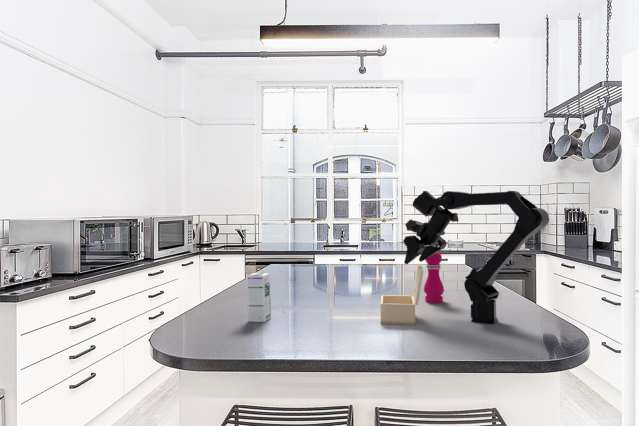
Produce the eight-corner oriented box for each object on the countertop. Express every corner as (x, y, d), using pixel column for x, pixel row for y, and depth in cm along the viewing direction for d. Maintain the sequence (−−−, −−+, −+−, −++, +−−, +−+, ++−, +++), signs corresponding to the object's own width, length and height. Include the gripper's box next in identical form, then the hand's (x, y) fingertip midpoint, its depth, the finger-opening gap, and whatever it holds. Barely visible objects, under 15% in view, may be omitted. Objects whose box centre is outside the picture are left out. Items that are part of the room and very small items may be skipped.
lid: (412, 295, 150) (415, 296, 150) (415, 304, 135) (418, 305, 135) (418, 264, 149) (420, 265, 149) (420, 270, 135) (423, 270, 135)
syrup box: (265, 322, 142) (264, 275, 142) (247, 321, 143) (246, 274, 143) (271, 318, 147) (270, 272, 147) (253, 317, 148) (252, 272, 148)
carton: (413, 314, 150) (412, 295, 149) (415, 324, 136) (414, 304, 136) (381, 313, 151) (381, 295, 151) (380, 324, 137) (380, 303, 137)
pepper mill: (442, 299, 173) (441, 246, 173) (445, 303, 166) (445, 247, 165) (422, 299, 173) (422, 246, 173) (425, 303, 166) (424, 247, 166)
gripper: (432, 210, 161) (410, 245, 167) (403, 211, 147) (380, 249, 153) (457, 229, 155) (433, 265, 161) (429, 232, 141) (404, 271, 147)
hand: (412, 262), depth 156 cm, fingers open, 9 cm apart
